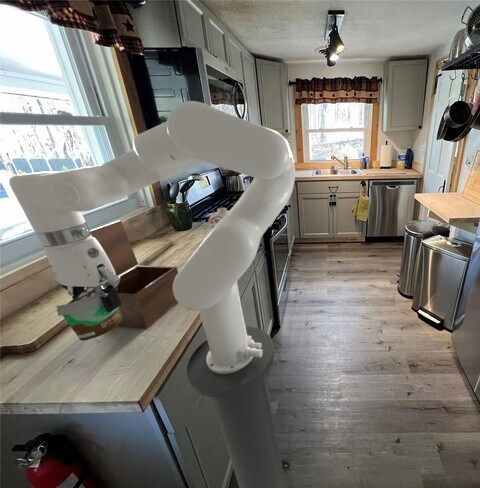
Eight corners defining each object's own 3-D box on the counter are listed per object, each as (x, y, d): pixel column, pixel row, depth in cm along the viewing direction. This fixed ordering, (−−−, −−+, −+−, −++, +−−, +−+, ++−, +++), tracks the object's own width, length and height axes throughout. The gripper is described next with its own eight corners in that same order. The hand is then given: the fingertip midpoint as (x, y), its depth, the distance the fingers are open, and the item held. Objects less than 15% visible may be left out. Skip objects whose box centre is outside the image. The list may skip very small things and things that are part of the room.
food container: (105, 343, 56) (85, 304, 52) (75, 345, 55) (53, 307, 51) (138, 308, 67) (125, 274, 63) (114, 310, 67) (99, 276, 63)
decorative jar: (242, 236, 150) (236, 206, 143) (233, 244, 139) (227, 211, 132) (222, 236, 151) (216, 206, 144) (212, 244, 140) (205, 212, 133)
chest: (185, 295, 95) (176, 266, 90) (147, 328, 79) (134, 295, 74) (148, 293, 97) (137, 265, 93) (104, 324, 81) (89, 292, 77)
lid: (121, 220, 86) (119, 220, 86) (64, 240, 70) (62, 240, 70) (138, 264, 92) (136, 264, 92) (89, 291, 76) (87, 291, 77)
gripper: (118, 228, 54) (146, 299, 61) (51, 229, 57) (85, 296, 64) (82, 242, 47) (118, 320, 54) (8, 242, 50) (52, 316, 57)
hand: (100, 307), depth 59 cm, fingers closed on food container, 6 cm apart
